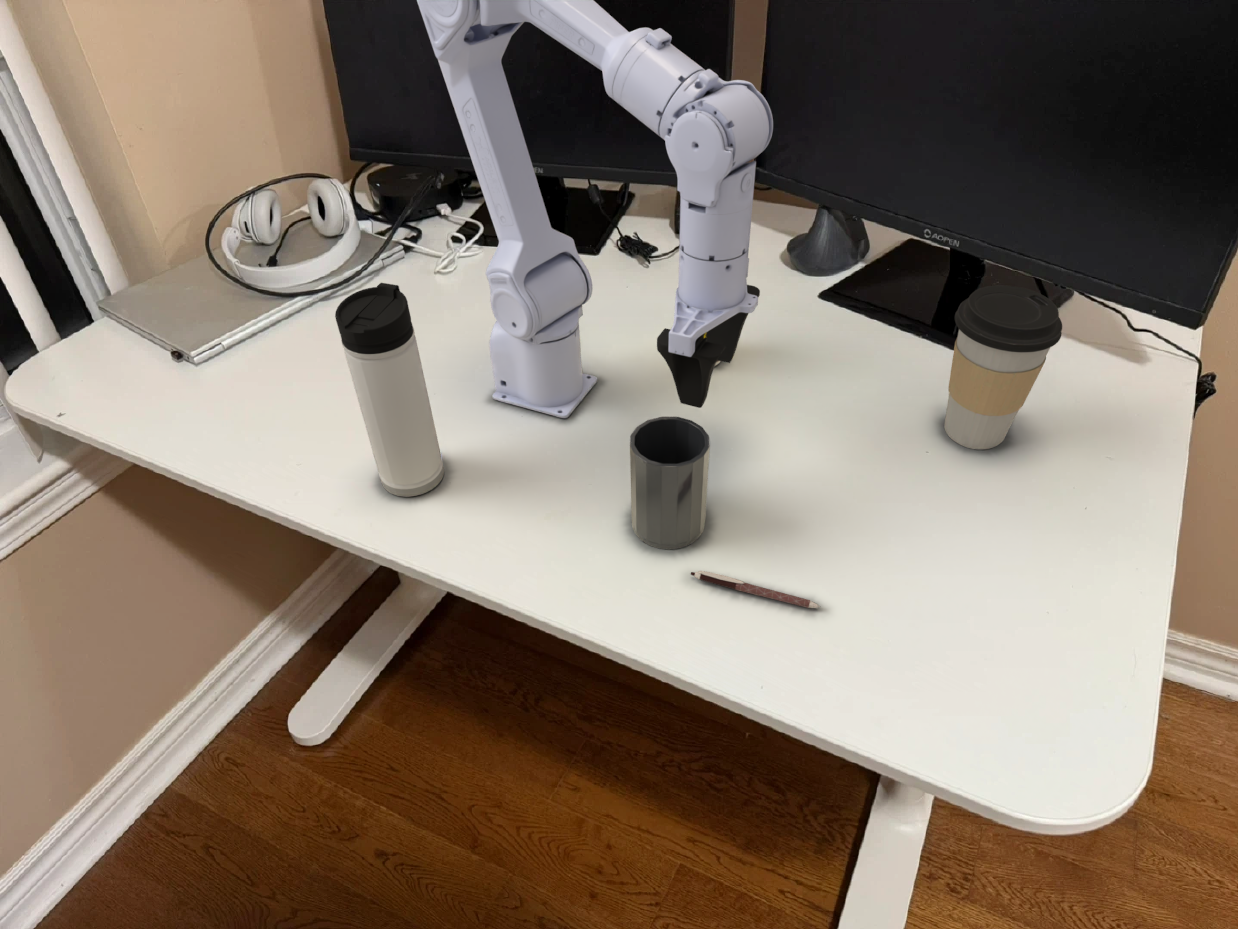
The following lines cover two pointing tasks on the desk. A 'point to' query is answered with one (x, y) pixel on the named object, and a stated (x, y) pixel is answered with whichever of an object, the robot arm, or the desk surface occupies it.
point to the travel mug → (391, 388)
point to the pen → (752, 589)
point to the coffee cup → (997, 361)
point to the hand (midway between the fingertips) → (706, 380)
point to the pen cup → (669, 481)
